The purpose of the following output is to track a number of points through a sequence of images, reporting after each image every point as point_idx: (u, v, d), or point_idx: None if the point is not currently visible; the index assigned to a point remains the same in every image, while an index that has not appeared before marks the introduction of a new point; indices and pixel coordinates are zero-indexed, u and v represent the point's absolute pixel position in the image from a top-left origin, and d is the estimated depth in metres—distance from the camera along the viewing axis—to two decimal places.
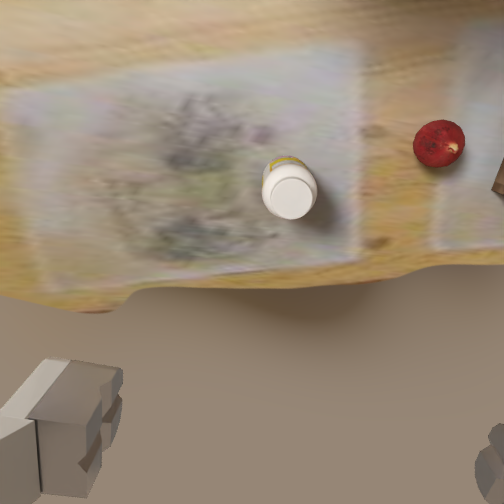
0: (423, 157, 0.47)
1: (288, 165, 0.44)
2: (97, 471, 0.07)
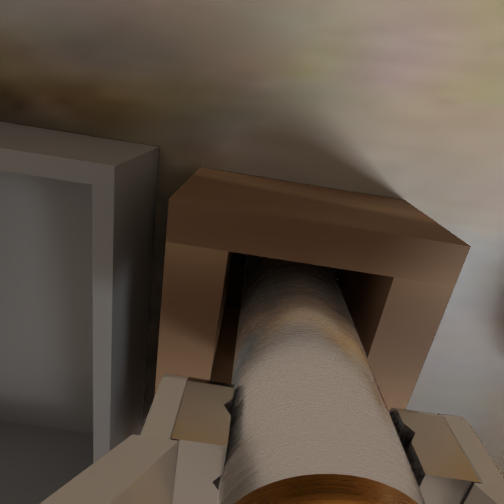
0: None
1: None
2: None
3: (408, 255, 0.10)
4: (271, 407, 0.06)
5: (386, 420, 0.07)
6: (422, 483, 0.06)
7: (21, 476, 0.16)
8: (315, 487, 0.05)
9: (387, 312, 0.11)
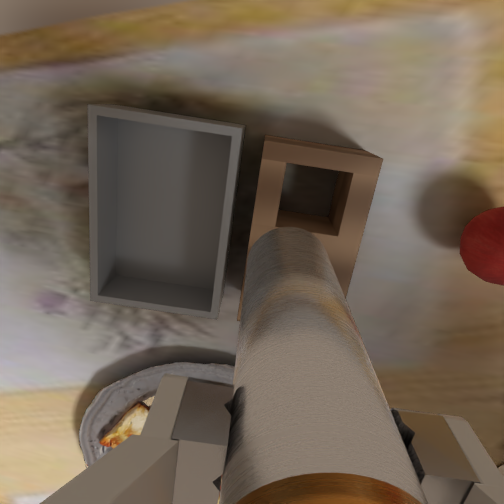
0: None
1: None
2: None
3: (358, 163, 0.25)
4: (273, 405, 0.06)
5: (388, 419, 0.07)
6: (422, 483, 0.06)
7: (169, 297, 0.32)
8: (318, 486, 0.05)
9: (351, 189, 0.26)
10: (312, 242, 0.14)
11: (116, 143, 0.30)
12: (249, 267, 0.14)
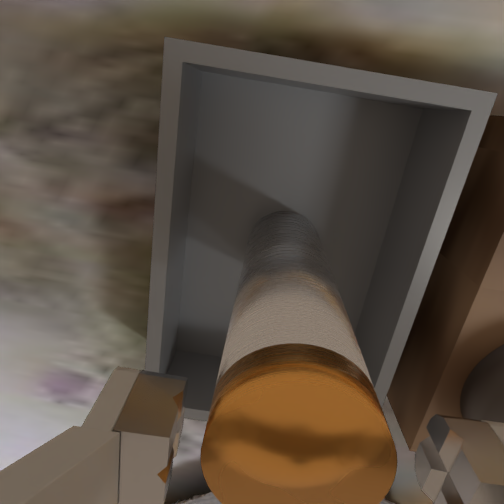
0: None
1: None
2: (169, 481, 0.07)
3: None
4: (258, 315, 0.09)
5: (347, 329, 0.09)
6: (476, 491, 0.06)
7: None
8: (284, 349, 0.07)
9: None
10: (304, 222, 0.16)
11: (195, 128, 0.16)
12: (249, 242, 0.16)
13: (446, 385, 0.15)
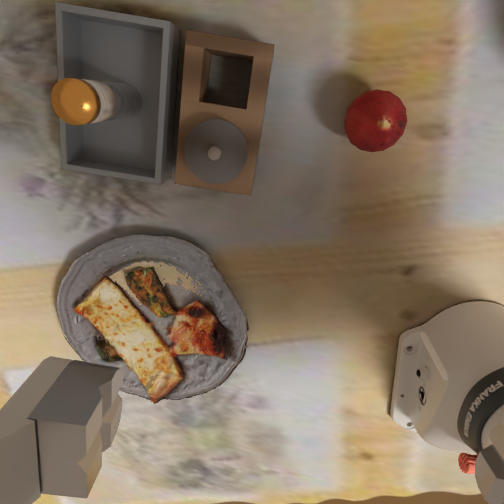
0: (403, 105, 0.35)
1: None
2: (97, 471, 0.07)
3: (256, 48, 0.34)
4: None
5: (100, 86, 0.31)
6: None
7: (123, 170, 0.40)
8: None
9: (253, 69, 0.35)
10: (127, 84, 0.38)
11: (81, 44, 0.38)
12: None
13: (180, 146, 0.38)
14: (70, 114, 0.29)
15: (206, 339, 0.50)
